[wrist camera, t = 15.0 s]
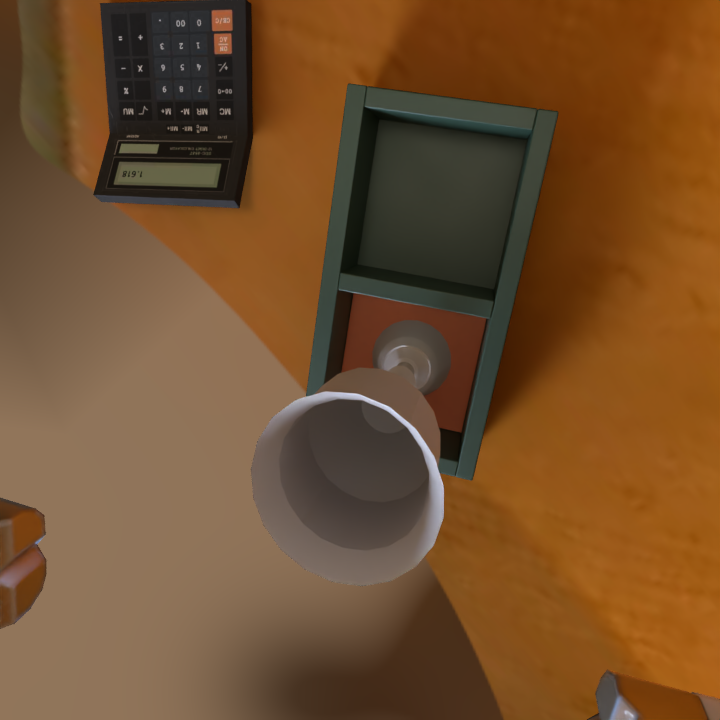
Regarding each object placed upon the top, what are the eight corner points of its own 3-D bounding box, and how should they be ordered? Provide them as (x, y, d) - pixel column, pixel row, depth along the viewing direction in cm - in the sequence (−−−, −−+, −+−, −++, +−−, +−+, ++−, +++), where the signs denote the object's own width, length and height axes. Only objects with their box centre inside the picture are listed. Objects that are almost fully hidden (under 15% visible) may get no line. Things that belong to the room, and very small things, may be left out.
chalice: (472, 408, 37) (458, 584, 20) (368, 417, 38) (273, 587, 21) (457, 295, 35) (428, 381, 18) (349, 309, 37) (231, 401, 20)
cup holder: (548, 124, 32) (559, 111, 28) (474, 446, 38) (472, 481, 33) (367, 99, 34) (347, 83, 29) (322, 411, 40) (300, 440, 35)
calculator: (251, 3, 34) (229, -15, 31) (253, 207, 37) (234, 208, 34) (109, 7, 36) (76, -9, 33) (122, 201, 39) (93, 201, 36)
